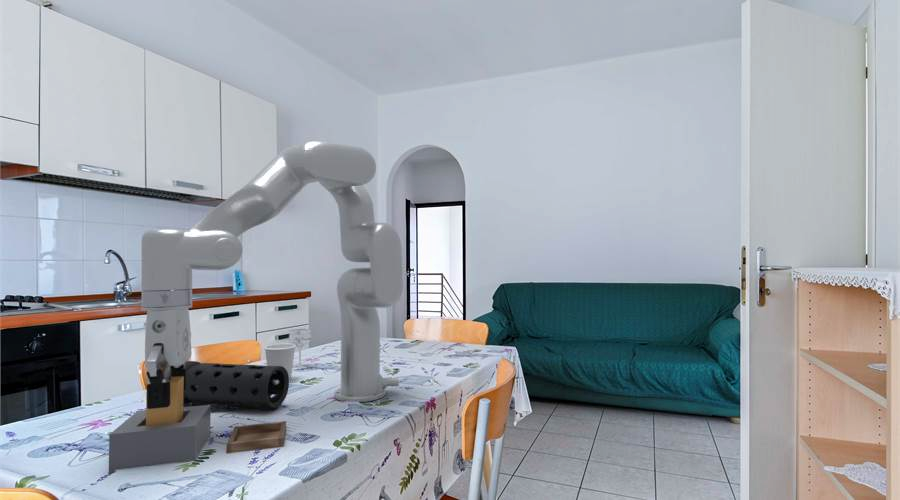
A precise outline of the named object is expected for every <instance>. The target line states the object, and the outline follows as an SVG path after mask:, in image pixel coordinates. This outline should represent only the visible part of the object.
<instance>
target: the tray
mask: <svg viewBox="0 0 900 500" xmlns="http://www.w3.org/2000/svg"><path fill="white" fill-rule="evenodd" d="M286 431H287V421H286V420H284V421H272V422H264V423H253V424H244V425H235V426H234V428H233V429H232V432H231V434H230V436H229V438H228V441H227V443H226V448H225V450H226V452H225V453H226V454H232V453H233V454H234V453H242V452H249V451H259V450H268V449H269V450H270V449H276V448H277V449H278V448H283V447H284V446H285V438H286Z"/></svg>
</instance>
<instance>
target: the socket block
mask: <svg viewBox="0 0 900 500" xmlns="http://www.w3.org/2000/svg"><path fill="white" fill-rule="evenodd" d="M211 408H212V405H203V406H183V421H182V422H179V423H169V424H158V425H148V426H146V409H145V410H138V411H136V412H134V413H133V414H132V415H131V416H130V417H129V418H127V419H126V420H125V421H124V422H123V423H121V424H120V425H119V426H118V427H116V428H115V429H114V430H113V431H111V432H110V433H109V435H108V440H109V441H108V474H114V473H115V472H116V470H124V469H132V468H134V469H135V468H141V467H142V468H143V467H150V466H159V465H166V464H175V463H184V462H192V461H193V462H194V461H196V459H197V457H198V456H199V455H200V453H201V451H202V449H203V447H204V446H205V444H206V443H207V441H208V439H209V437H210V436H211V413H212V412H211Z"/></svg>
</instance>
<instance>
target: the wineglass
mask: <svg viewBox="0 0 900 500" xmlns="http://www.w3.org/2000/svg"><path fill="white" fill-rule="evenodd" d="M311 330H312V329H310V328H295V329H290V330H288V332H289V334H288V341H289V343H290V344H295V345H296V347H297V349H298V365H297V366H295V367H296V368H303V367H304V365H301V363H302V362H301V361H302V349H303V347H305V346H307V345H308V344H309V342H311V339H312V334H311Z"/></svg>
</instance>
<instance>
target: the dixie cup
mask: <svg viewBox="0 0 900 500" xmlns="http://www.w3.org/2000/svg"><path fill="white" fill-rule="evenodd" d="M296 347H297V346H296V345H295V344H292V343H286V342H285V343H274V344H269V345H265V346H264V347H263V349H264V351H265V353H264V354H265V361H266V366H283V367H284V368H285V369H286V370H287V372H288V376H289V381H290V382H291V381H292V373H293V370H292V368H294V367H293V365H294V357H295V349H296ZM274 382H275V383H276V384H278V383H279V380H274Z"/></svg>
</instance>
